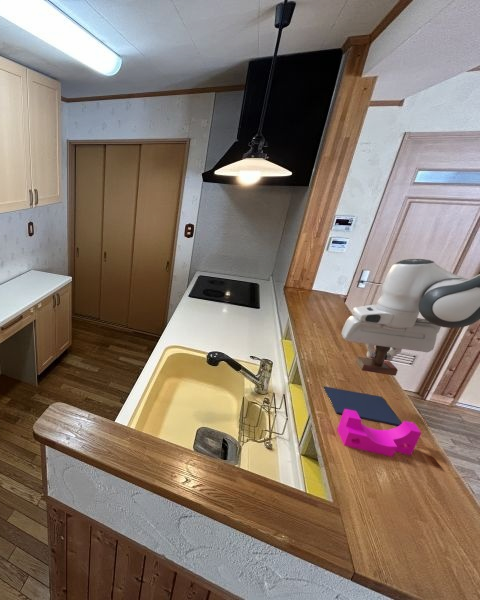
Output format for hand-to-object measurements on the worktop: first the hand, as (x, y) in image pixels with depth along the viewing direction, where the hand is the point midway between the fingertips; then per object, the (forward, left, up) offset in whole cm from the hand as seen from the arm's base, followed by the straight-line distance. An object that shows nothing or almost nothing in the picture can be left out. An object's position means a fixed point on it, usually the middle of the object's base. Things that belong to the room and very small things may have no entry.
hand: (378, 358), depth 95 cm
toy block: (+3, +18, -18) cm, 25 cm away
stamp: (0, 0, -4) cm, 4 cm away
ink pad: (0, -1, -18) cm, 18 cm away
